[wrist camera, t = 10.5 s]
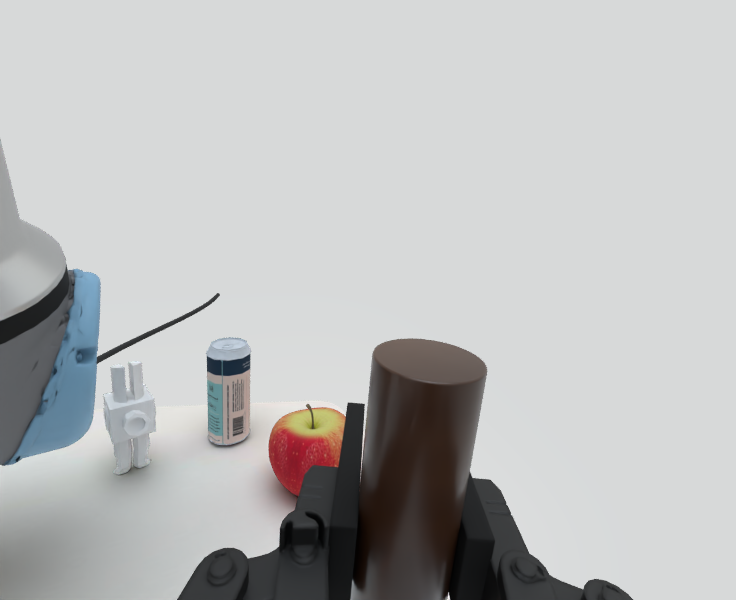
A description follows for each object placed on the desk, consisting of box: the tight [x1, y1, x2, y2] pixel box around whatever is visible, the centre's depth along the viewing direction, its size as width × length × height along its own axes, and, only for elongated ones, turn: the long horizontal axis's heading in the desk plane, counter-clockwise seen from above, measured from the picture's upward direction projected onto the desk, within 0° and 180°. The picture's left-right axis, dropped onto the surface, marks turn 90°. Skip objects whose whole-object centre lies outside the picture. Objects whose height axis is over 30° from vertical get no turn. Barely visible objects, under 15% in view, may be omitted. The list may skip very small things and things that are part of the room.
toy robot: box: [103, 362, 156, 475], centre depth 35 cm, size 4×8×12 cm, turn 43°
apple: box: [269, 404, 346, 496], centre depth 36 cm, size 8×8×10 cm
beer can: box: [206, 337, 251, 445], centre depth 42 cm, size 5×5×12 cm
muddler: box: [351, 339, 487, 600], centre depth 11 cm, size 5×5×15 cm
